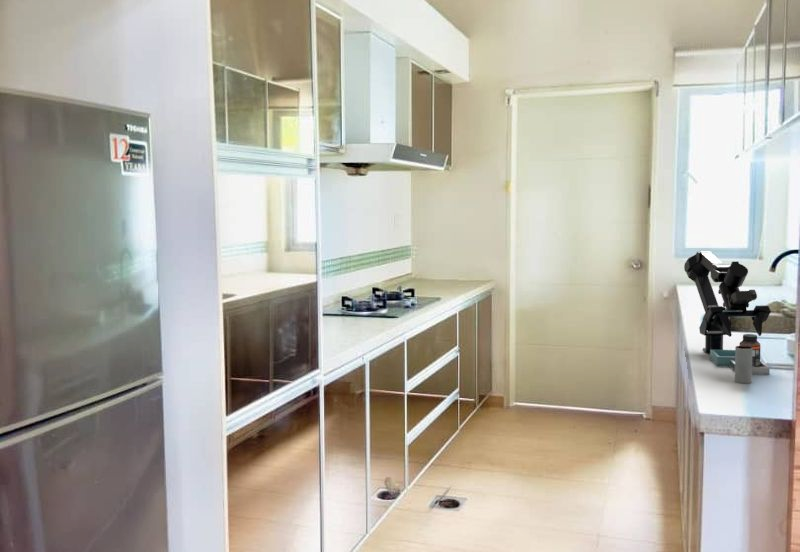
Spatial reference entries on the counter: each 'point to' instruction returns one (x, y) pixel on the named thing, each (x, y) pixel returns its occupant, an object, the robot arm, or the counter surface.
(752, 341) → the supplement bottle
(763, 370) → the collar
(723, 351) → the bin
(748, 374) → the grey hollow cylinder
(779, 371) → the counter surface
